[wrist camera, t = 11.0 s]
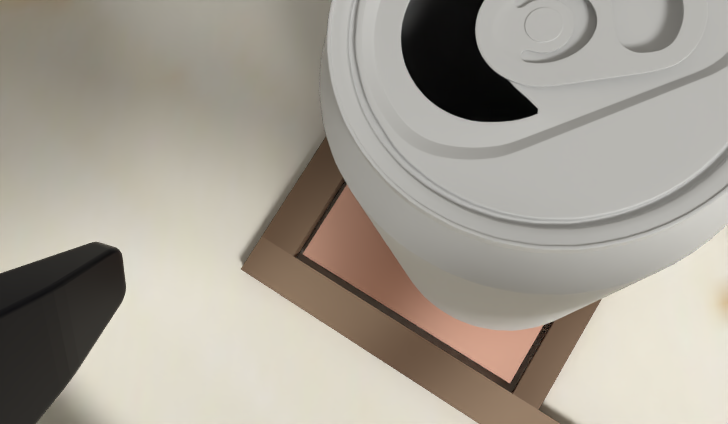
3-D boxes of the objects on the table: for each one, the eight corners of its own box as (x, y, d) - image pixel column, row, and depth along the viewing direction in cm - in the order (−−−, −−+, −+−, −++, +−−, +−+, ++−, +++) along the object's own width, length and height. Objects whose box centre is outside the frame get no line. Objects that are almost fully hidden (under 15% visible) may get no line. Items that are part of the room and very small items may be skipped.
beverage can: (388, 133, 21) (286, -161, 9) (599, 111, 20) (785, -246, 8) (402, 338, 19) (299, 301, 8) (630, 325, 18) (912, 259, 7)
